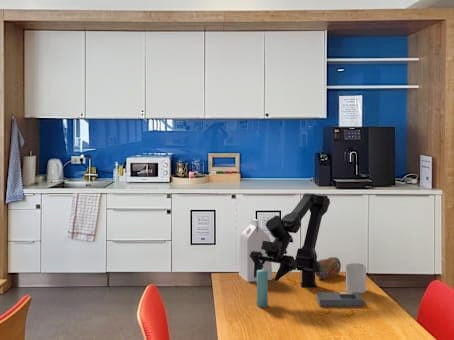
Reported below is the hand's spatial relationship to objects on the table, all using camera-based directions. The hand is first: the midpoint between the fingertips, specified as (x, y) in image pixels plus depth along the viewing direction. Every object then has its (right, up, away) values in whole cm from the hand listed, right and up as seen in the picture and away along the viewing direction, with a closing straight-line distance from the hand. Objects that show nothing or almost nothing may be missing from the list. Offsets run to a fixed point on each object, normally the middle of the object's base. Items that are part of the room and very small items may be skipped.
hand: (264, 278), depth 219 cm
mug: (+38, -8, +19) cm, 43 cm away
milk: (-1, -7, +41) cm, 42 cm away
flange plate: (+28, -9, +1) cm, 30 cm away
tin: (+31, -7, +40) cm, 51 cm away
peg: (-1, -10, -1) cm, 10 cm away
